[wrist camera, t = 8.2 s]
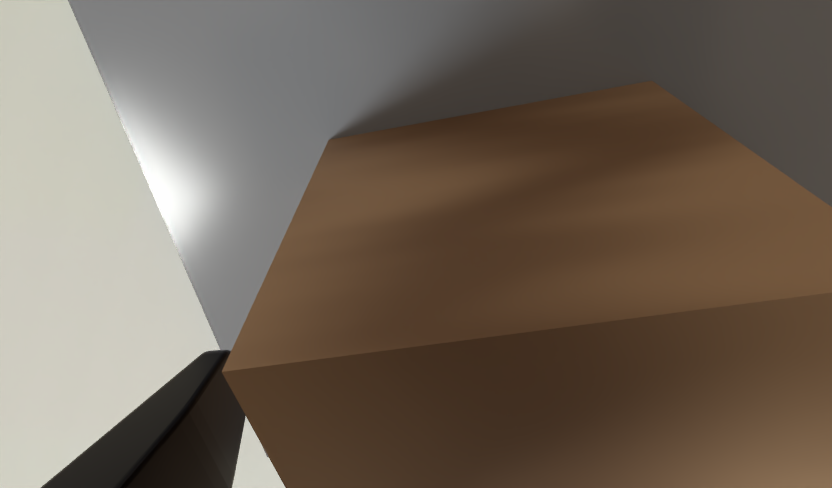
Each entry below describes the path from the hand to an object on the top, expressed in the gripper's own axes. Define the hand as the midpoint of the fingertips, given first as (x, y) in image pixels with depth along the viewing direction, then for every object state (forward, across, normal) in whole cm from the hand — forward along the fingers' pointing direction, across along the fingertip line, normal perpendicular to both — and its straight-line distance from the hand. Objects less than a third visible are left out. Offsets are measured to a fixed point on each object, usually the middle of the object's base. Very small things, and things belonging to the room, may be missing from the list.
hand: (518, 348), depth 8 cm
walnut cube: (+4, 0, 0) cm, 4 cm away
